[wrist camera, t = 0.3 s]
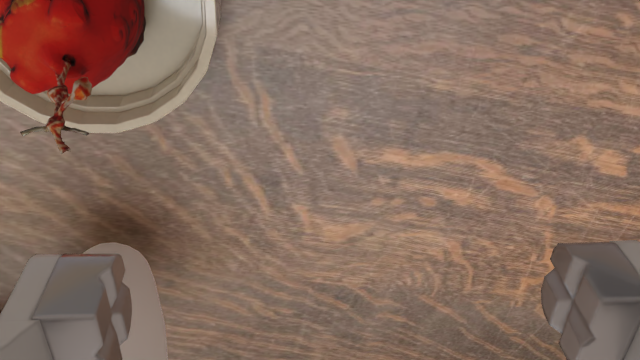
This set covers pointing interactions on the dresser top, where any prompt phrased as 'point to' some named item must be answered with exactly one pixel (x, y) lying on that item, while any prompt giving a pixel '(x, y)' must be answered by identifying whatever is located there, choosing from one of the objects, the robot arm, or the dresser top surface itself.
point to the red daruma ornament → (67, 48)
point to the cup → (139, 305)
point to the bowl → (137, 72)
